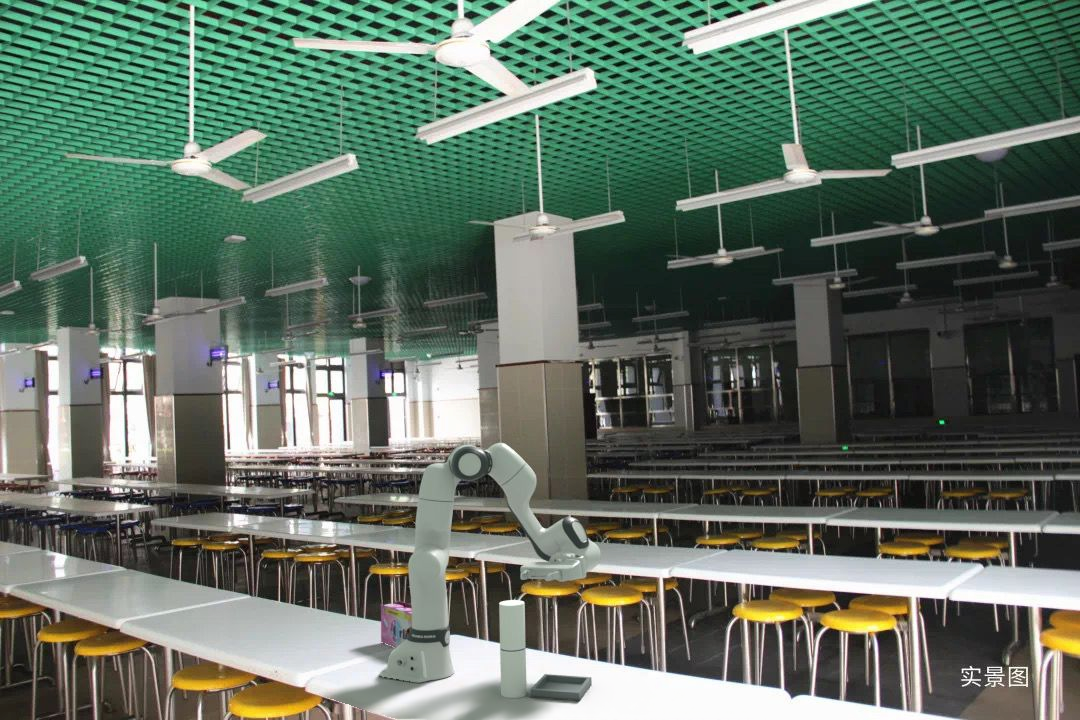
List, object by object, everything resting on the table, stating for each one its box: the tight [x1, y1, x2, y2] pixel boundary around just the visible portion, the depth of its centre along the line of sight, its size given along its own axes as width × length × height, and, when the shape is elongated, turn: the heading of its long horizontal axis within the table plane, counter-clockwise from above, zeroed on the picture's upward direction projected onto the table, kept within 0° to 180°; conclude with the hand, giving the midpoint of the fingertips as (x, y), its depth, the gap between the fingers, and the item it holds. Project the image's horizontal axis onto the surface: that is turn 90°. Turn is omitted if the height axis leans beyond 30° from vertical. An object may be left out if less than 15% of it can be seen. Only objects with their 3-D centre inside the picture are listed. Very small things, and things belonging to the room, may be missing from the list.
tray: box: [529, 673, 593, 702], centre depth 229 cm, size 14×14×2 cm
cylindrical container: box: [498, 599, 528, 699], centre depth 229 cm, size 7×7×25 cm
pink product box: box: [380, 600, 412, 649], centre depth 280 cm, size 24×8×14 cm, turn 40°
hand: (534, 577), depth 240 cm, fingers open, 8 cm apart
